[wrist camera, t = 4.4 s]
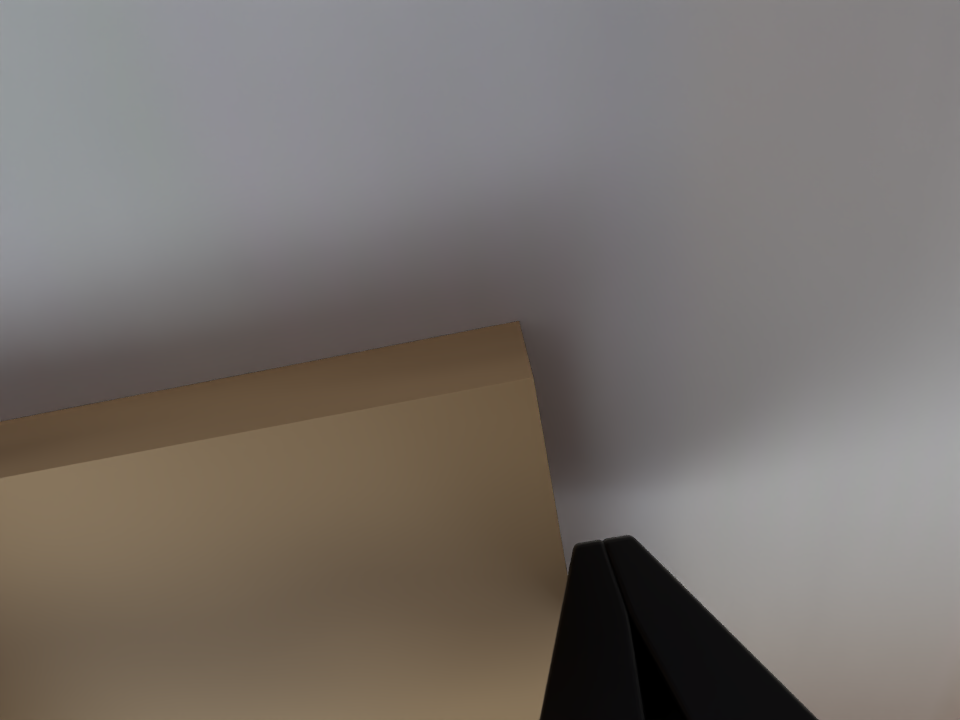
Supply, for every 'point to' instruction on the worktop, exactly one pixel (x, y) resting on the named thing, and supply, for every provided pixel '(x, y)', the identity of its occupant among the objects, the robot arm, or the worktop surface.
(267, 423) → the board
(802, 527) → the worktop surface
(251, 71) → the worktop surface
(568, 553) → the worktop surface
